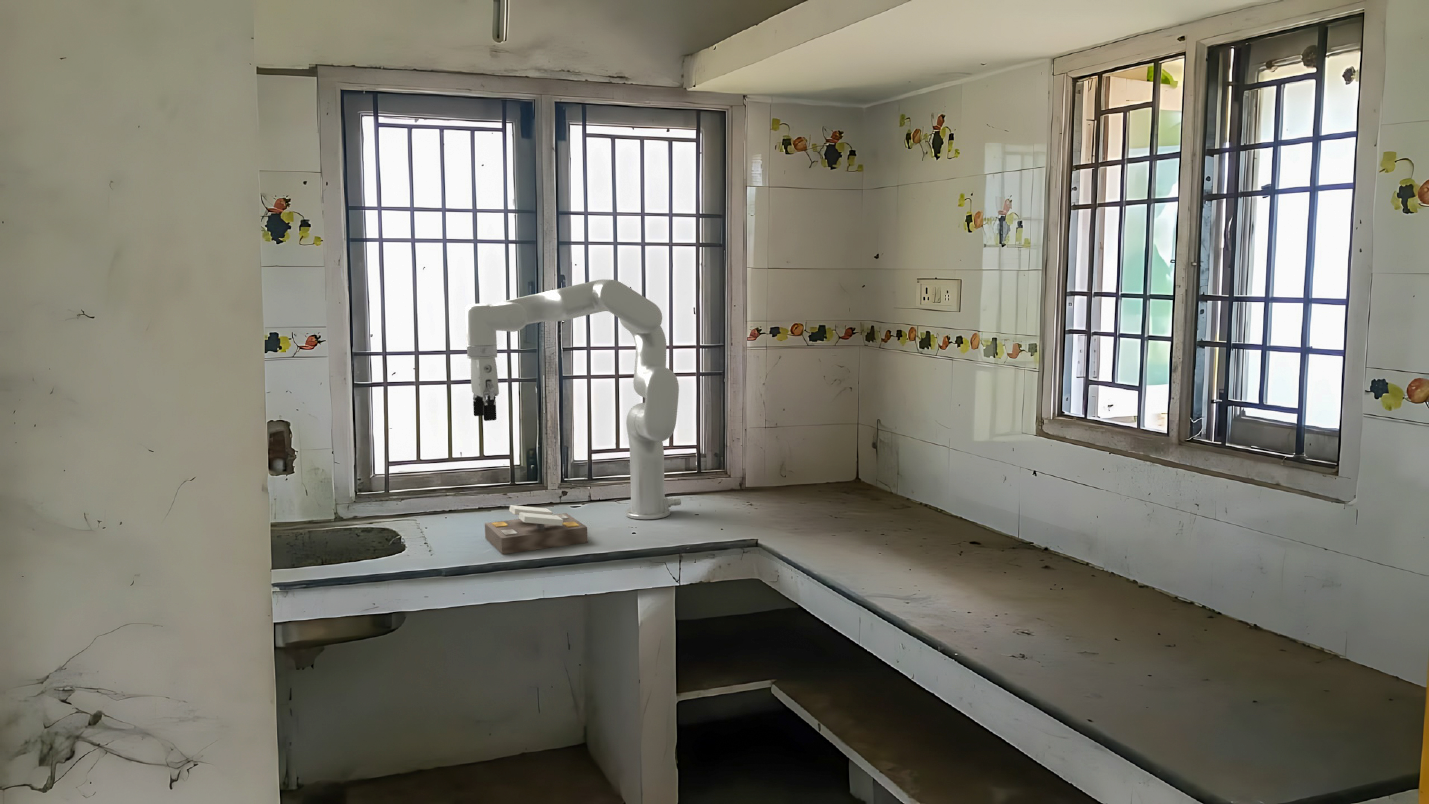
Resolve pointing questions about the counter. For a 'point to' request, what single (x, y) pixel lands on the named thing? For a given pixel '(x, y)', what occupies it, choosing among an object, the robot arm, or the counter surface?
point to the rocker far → (529, 510)
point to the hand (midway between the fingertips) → (485, 417)
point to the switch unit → (534, 534)
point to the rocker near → (540, 519)
